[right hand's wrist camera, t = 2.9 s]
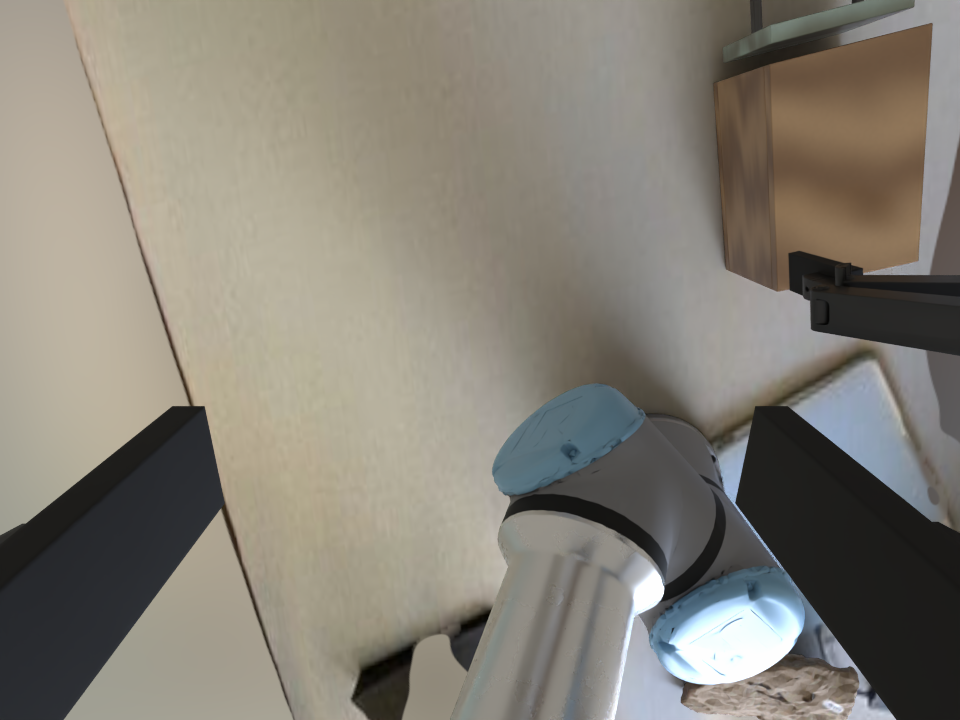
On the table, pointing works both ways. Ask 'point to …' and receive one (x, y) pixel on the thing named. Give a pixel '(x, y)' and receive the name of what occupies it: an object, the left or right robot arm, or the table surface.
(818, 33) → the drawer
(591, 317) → the table surface
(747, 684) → the stone
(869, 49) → the cabinet
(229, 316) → the table surface
